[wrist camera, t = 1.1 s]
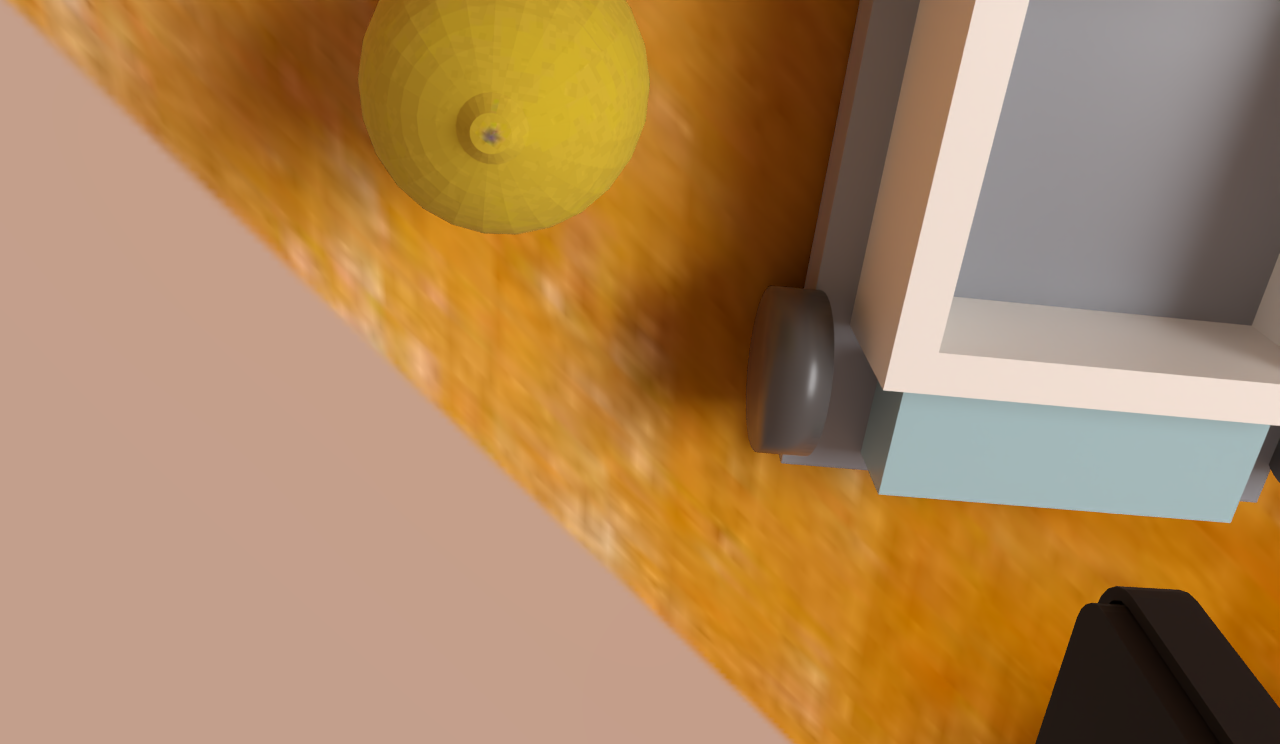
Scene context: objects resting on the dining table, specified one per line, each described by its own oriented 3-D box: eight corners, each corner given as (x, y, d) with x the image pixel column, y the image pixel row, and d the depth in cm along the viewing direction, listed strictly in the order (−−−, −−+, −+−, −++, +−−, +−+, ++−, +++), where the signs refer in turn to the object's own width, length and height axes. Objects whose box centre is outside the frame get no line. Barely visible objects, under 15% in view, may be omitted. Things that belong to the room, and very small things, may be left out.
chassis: (884, -414, 22) (953, -471, 18) (1602, -305, 23) (1827, -332, 19) (733, 436, 30) (757, 537, 26) (1270, 482, 31) (1376, 584, 27)
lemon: (379, 137, 26) (299, 256, 19) (416, -114, 24) (341, -88, 17) (610, 189, 27) (618, 322, 20) (667, -50, 25) (699, 3, 17)
